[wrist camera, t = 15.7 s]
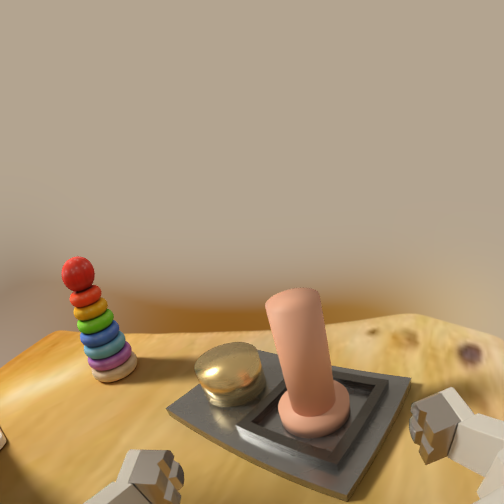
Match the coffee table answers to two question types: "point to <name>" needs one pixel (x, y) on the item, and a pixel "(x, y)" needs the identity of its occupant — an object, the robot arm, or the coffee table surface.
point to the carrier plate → (270, 425)
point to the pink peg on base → (306, 365)
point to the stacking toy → (97, 324)
